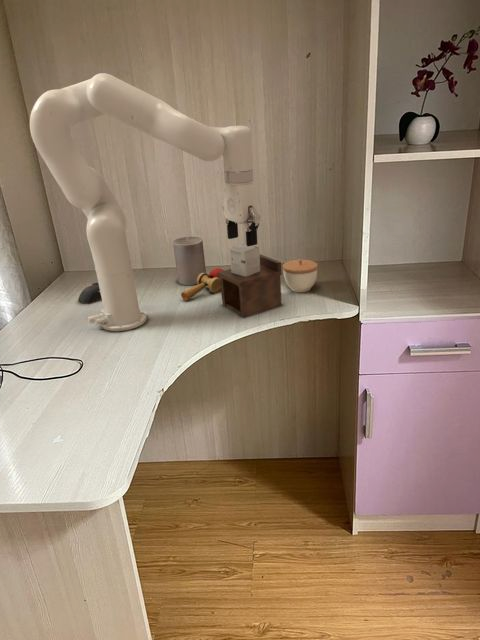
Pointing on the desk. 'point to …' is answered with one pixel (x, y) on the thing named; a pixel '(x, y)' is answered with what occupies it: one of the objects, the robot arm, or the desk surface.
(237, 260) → the white cardboard box
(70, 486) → the desk surface
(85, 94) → the robot arm
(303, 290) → the trinket box
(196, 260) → the pillar candle
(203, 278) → the kendama
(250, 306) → the shelf
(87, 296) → the computer mouse
